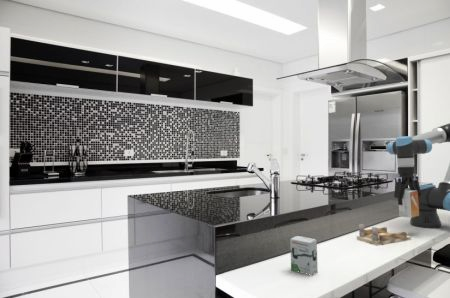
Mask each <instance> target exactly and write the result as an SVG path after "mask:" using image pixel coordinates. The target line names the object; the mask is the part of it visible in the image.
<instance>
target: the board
mask: <svg viewBox="0 0 450 298" xmlns="http://www.w3.org/2000/svg"><path fill="white" fill-rule="evenodd" d="M407 233H408V232H407V231H400V232H393V231H390V230H389V231H388V228H387V227H386V226H383V227H377V226H372V227H371V228H369V229H365V224H364V223H363V224H362V223H359V224H358V236H357V235H356V240H357V241H361V242H365V243H367V244H371V245H374V246H381V245H386V244H393V243H398V242H399V243H400V242H405V241H411V240H412V237H411V236H410V235H408V234H407Z"/></svg>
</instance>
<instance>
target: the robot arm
mask: <svg viewBox="0 0 450 298" xmlns="http://www.w3.org/2000/svg"><path fill="white" fill-rule="evenodd" d="M442 143H450V122H449V123H446V124H443V125H440V126H438V127H435V128H433V129H431V131H427V132H424V133H421V134H418V135H417V134H416V135H413V136H411V135H409V136H408V135H407V136H397V137H396V139H395V140H394V141H390V142H388V144H387V146H386V149H387V152H388V153H389V154H390V155H395V156H396V158H397V166H398V167H397V174H398V175H399V177H395V178H394V182H395V183H394V185H395V186H394V195H393V196H394V198H395V199H397V204H398V212H399V211H402V212H405V203H404V199H403V195H404V192H405V190H406V187H407V186H408V187H409V190H417V191H418V203H419V216H416V217H413V218H409V219H410V220H409V222H410V226H413V225H414V226H413V227H419V228H421V227H422V228H427V229H428V228H429V229H436V228H441V227H442V221H441V219H440V216H439V213H438V211H437V210H442V211H443V210H444V211H448V212H450V163H448V167H447V170H446V171H445V172H446V173H445V176H444V178H443V180H442V181H440V182H438V186H436V184H429V185H428V184H427V185H420V182H419V176H418V175H417V176H415V175H414V174H416V167H415V155H425V154H428V153H430V152H431V151H432V149H433V145H435V144H442ZM400 195H401V196H400Z"/></svg>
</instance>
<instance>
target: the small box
mask: <svg viewBox="0 0 450 298" xmlns="http://www.w3.org/2000/svg"><path fill="white" fill-rule="evenodd" d="M400 196H401V195H400ZM403 199H404V203H405V212H402V211H399V210H398V215H399V217H402V218H409V219H411V218H413V217H416V216H419V203H418V191H417V190H410V189H405V192H404V195H403Z"/></svg>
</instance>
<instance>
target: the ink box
mask: <svg viewBox="0 0 450 298" xmlns="http://www.w3.org/2000/svg"><path fill="white" fill-rule="evenodd" d="M289 240H290V248H289V249H290V270H291V271H292V270H295V271H294V272H296V271H299V272H303V273H307V274H310V275H311V276H313V275H315V274H317V273H319V272H318V271H319V270H318V242H317V241H318V240H317V239H315V238H311V237H306V236H299V235H296V236H293V237H291V238H290V239H289ZM299 272H298V273H299ZM316 272H317V273H316ZM303 273H302V274H303ZM314 273H315V274H314ZM312 274H313V275H312ZM310 275H309V276H310Z"/></svg>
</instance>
